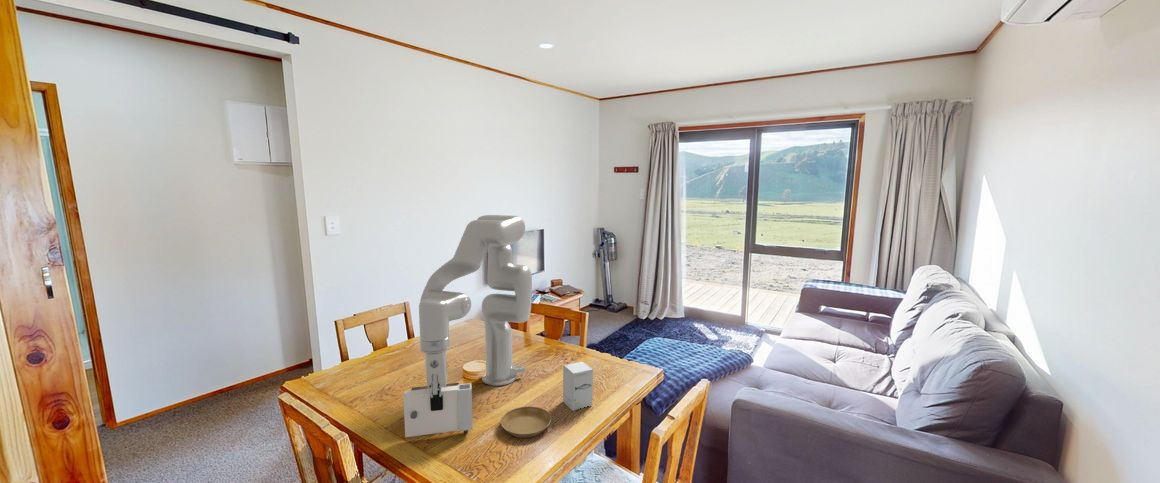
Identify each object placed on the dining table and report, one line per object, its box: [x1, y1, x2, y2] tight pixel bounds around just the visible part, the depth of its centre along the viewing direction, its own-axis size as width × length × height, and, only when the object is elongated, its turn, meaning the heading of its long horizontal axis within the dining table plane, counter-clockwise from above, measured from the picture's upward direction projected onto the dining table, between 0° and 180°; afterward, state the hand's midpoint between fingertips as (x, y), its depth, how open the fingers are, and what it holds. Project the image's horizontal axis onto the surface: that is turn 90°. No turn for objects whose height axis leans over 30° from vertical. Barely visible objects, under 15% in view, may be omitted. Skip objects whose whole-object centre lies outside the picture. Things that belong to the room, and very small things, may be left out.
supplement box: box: [562, 361, 594, 412], centre depth 138 cm, size 7×7×13 cm
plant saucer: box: [500, 406, 552, 438], centre depth 126 cm, size 15×15×3 cm
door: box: [402, 382, 474, 438], centre depth 119 cm, size 18×4×12 cm, turn 105°
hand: (437, 406), depth 119 cm, fingers closed on door, 2 cm apart
